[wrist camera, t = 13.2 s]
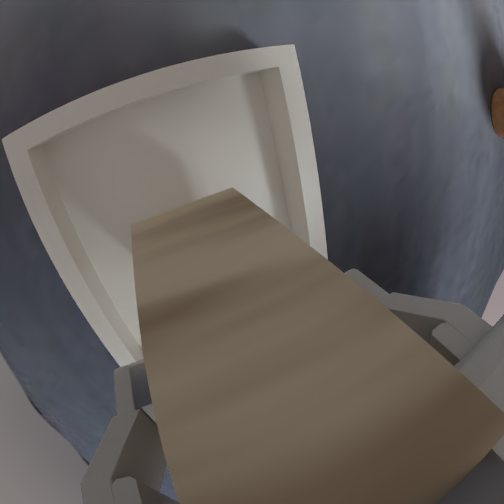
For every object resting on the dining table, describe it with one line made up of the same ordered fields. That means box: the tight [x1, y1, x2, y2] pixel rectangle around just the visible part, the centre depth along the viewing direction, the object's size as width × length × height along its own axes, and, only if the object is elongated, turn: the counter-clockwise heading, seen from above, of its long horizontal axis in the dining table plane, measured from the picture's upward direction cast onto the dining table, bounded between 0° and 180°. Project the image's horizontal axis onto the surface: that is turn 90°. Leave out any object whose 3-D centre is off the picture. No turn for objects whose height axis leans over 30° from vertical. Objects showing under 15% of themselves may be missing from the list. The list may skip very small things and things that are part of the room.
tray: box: [2, 44, 328, 367], centre depth 15 cm, size 16×13×3 cm
